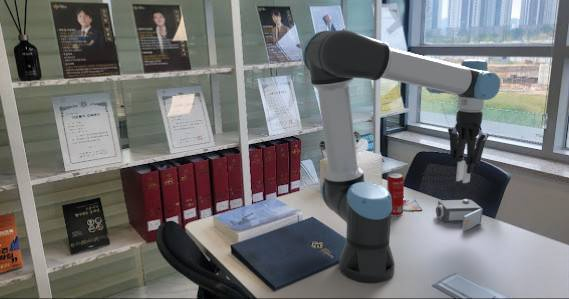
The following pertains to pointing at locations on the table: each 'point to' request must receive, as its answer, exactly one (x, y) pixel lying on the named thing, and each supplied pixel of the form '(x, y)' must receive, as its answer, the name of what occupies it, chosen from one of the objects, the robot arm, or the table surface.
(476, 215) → the side door
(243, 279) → the table surface
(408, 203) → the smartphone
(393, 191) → the beverage can
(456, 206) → the grey video camera
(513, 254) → the table surface
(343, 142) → the robot arm
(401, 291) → the table surface
